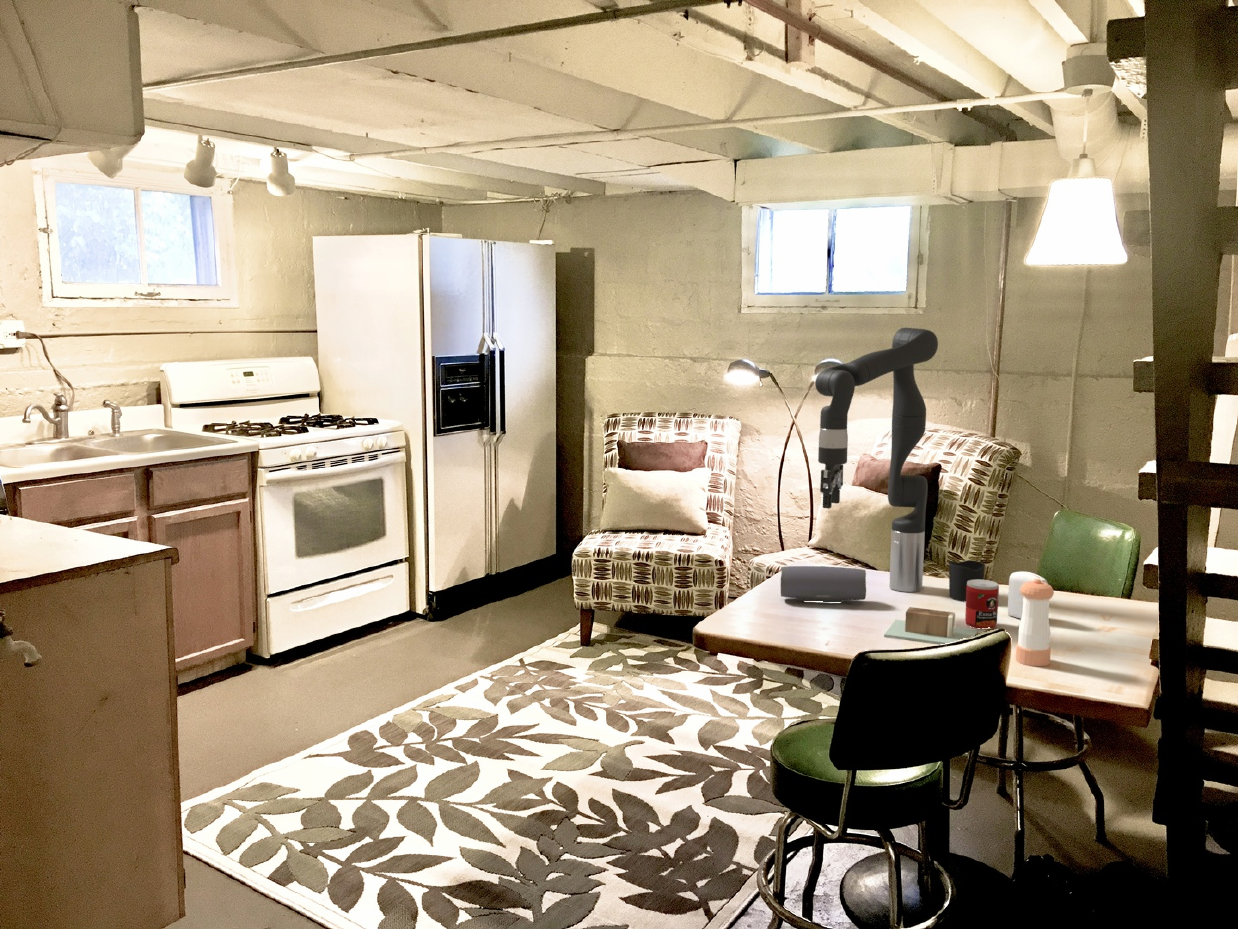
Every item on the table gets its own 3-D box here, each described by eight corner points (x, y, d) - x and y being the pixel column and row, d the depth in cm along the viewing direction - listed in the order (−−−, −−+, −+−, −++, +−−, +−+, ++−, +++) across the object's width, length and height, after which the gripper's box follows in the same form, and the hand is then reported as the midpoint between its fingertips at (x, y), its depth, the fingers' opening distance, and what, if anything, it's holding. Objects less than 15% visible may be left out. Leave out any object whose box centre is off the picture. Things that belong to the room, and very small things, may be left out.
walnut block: (909, 607, 248) (955, 612, 244) (908, 626, 249) (954, 632, 244) (905, 612, 244) (952, 617, 239) (905, 631, 245) (951, 637, 240)
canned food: (977, 630, 248) (979, 588, 246) (958, 621, 255) (960, 580, 254) (1003, 628, 250) (1006, 586, 248) (984, 619, 257) (986, 578, 256)
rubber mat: (895, 621, 255) (895, 619, 255) (977, 632, 246) (977, 630, 246) (884, 636, 243) (884, 634, 243) (969, 648, 234) (969, 646, 234)
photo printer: (1004, 615, 261) (1007, 569, 259) (1015, 613, 263) (1018, 567, 261) (1037, 625, 252) (1040, 578, 250) (1048, 623, 254) (1051, 576, 253)
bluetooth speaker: (862, 598, 277) (863, 564, 275) (865, 608, 268) (867, 572, 266) (780, 595, 280) (781, 561, 278) (780, 604, 271) (781, 569, 269)
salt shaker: (1041, 655, 229) (1046, 575, 226) (1055, 666, 221) (1061, 583, 219) (1010, 656, 228) (1014, 575, 226) (1023, 666, 221) (1028, 583, 219)
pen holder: (979, 604, 271) (981, 569, 270) (944, 599, 276) (946, 564, 275) (986, 596, 279) (987, 562, 278) (951, 592, 284) (953, 558, 283)
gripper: (840, 449, 254) (838, 511, 256) (853, 443, 266) (851, 502, 269) (811, 447, 257) (810, 508, 259) (826, 442, 270) (824, 500, 272)
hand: (831, 505), depth 264 cm, fingers open, 8 cm apart
